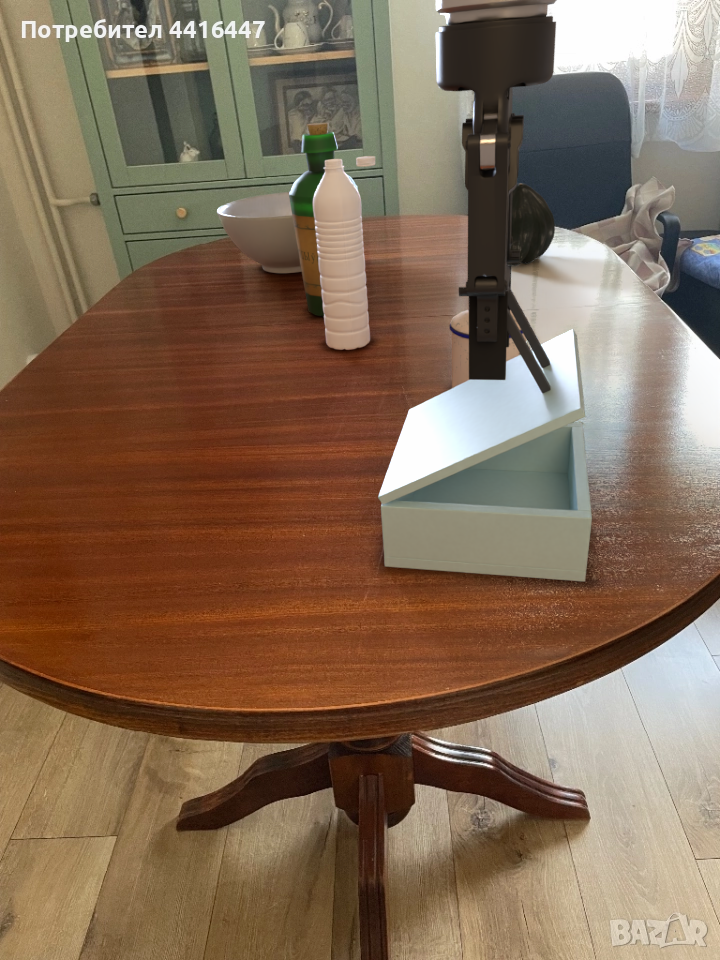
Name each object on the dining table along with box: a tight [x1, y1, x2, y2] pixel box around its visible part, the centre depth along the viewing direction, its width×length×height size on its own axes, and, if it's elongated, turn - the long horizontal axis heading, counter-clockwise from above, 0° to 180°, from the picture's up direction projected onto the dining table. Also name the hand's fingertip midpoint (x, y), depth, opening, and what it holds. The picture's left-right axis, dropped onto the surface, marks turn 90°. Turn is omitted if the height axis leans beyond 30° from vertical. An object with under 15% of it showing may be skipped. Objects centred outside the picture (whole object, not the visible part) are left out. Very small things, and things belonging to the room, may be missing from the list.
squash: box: [509, 182, 556, 266], centre depth 136 cm, size 14×15×15 cm
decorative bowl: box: [216, 191, 302, 274], centre depth 145 cm, size 27×27×12 cm
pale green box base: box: [380, 421, 593, 583], centre depth 64 cm, size 16×16×6 cm
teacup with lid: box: [449, 309, 529, 389], centre depth 87 cm, size 12×9×12 cm
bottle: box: [289, 122, 359, 318], centre depth 113 cm, size 11×11×28 cm
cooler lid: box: [377, 264, 586, 505], centre depth 58 cm, size 17×16×10 cm
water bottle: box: [313, 155, 376, 351], centre depth 100 cm, size 9×6×25 cm
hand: (489, 360), depth 58 cm, fingers closed on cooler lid, 6 cm apart
